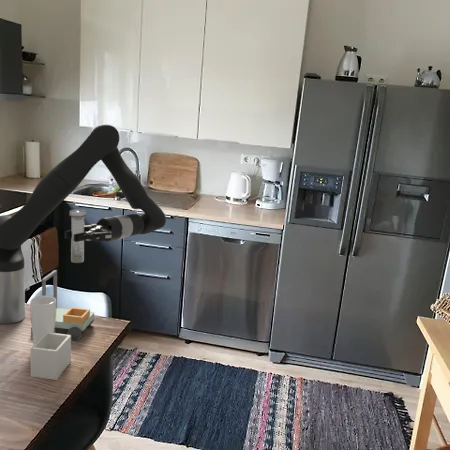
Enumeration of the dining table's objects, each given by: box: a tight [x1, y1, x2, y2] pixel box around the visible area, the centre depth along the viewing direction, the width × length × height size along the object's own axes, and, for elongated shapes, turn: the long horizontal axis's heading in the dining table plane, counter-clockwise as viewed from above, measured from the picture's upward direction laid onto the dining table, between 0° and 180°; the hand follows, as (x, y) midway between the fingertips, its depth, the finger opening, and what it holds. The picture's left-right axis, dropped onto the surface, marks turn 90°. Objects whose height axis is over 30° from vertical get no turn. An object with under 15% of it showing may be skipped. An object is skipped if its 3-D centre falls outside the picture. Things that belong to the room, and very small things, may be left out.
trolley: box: [41, 269, 95, 342], centre depth 142 cm, size 13×11×18 cm
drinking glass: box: [29, 295, 56, 346], centre depth 131 cm, size 7×7×15 cm
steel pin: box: [69, 208, 87, 264], centre depth 136 cm, size 5×5×15 cm
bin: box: [30, 332, 72, 380], centre depth 122 cm, size 7×9×8 cm
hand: (70, 236), depth 133 cm, fingers closed on steel pin, 3 cm apart
